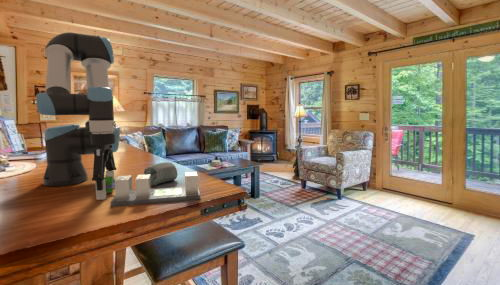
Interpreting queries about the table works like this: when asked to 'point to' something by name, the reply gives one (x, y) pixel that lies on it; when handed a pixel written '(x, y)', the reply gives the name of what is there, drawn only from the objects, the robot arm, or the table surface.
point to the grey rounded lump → (161, 173)
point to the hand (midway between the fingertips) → (106, 193)
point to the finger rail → (153, 191)
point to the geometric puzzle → (109, 184)
